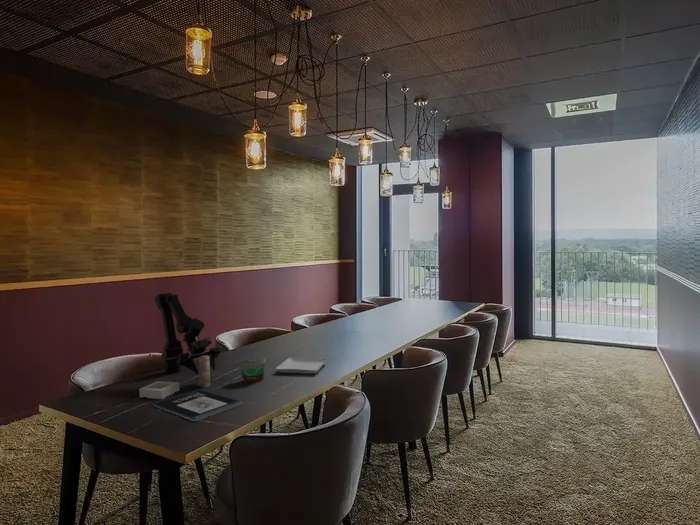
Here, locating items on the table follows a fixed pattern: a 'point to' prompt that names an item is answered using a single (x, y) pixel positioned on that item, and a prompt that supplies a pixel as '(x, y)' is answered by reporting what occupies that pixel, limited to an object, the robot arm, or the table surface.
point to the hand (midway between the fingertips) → (206, 371)
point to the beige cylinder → (204, 371)
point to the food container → (252, 370)
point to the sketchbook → (197, 404)
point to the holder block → (159, 389)
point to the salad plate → (301, 365)
